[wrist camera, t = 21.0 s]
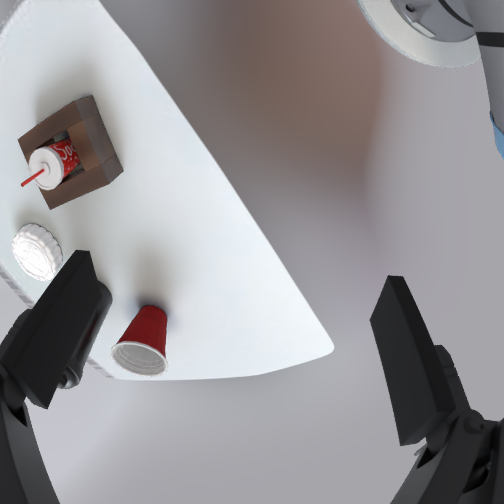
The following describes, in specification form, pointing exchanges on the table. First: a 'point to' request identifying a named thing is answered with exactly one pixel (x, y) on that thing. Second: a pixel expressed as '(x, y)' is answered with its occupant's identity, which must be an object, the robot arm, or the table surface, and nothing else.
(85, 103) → the holder
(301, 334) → the table surface
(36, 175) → the beverage cup
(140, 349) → the plastic cup
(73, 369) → the water bottle
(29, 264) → the mooncake
